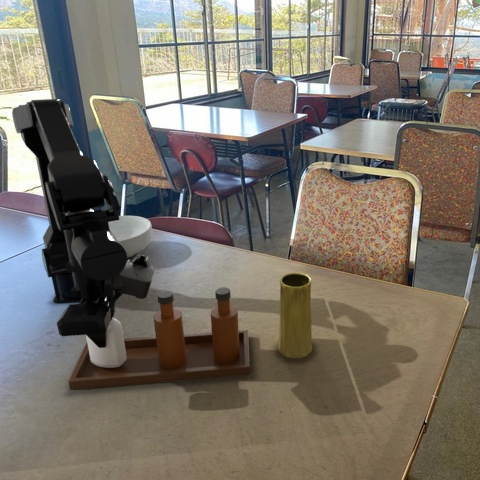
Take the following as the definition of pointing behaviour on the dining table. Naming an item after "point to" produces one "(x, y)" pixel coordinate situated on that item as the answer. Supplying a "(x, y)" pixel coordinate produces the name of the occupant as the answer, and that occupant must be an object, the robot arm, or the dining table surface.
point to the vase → (295, 315)
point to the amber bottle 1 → (169, 332)
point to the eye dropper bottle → (109, 347)
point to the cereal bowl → (132, 233)
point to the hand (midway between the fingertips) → (105, 339)
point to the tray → (150, 371)
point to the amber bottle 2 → (225, 328)
